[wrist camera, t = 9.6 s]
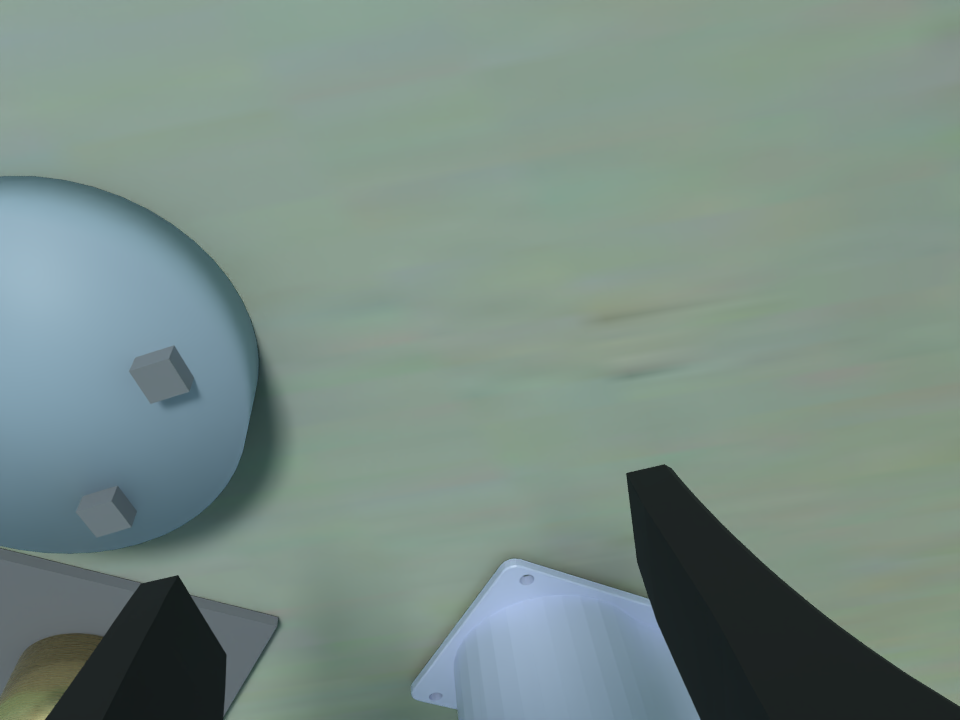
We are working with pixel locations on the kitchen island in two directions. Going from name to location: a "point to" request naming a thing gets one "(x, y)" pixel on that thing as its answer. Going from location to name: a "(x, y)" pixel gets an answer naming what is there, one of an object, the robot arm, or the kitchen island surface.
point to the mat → (105, 613)
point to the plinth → (112, 371)
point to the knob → (45, 675)
